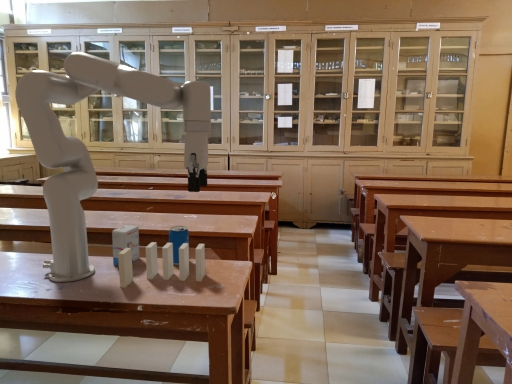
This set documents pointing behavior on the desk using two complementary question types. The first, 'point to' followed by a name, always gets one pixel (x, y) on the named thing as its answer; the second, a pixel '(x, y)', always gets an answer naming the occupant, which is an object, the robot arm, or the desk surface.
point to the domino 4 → (184, 261)
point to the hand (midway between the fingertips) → (198, 188)
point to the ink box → (125, 241)
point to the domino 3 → (167, 261)
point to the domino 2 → (151, 260)
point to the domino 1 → (125, 267)
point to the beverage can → (178, 240)
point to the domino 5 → (200, 262)
